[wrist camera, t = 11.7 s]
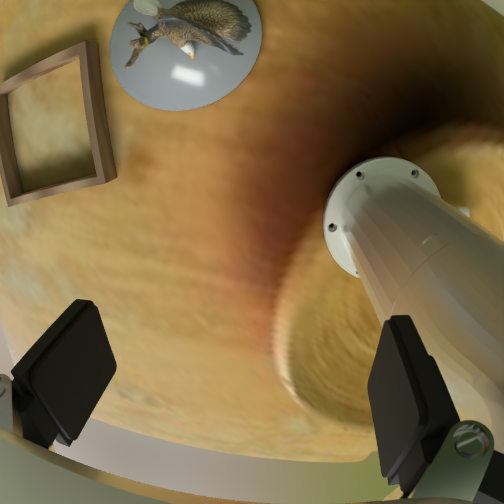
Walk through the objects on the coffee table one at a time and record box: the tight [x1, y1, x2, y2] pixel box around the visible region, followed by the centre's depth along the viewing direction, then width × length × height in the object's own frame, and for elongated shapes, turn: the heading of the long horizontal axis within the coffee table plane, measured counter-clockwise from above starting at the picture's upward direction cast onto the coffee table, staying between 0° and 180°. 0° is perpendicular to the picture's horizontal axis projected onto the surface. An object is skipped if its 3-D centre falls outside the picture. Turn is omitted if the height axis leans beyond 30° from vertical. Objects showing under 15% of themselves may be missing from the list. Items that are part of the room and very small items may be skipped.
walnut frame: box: [0, 41, 117, 207], centre depth 26 cm, size 15×14×2 cm
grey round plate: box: [110, 0, 262, 111], centre depth 23 cm, size 14×14×1 cm
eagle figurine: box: [125, 0, 252, 69], centre depth 20 cm, size 8×7×9 cm
